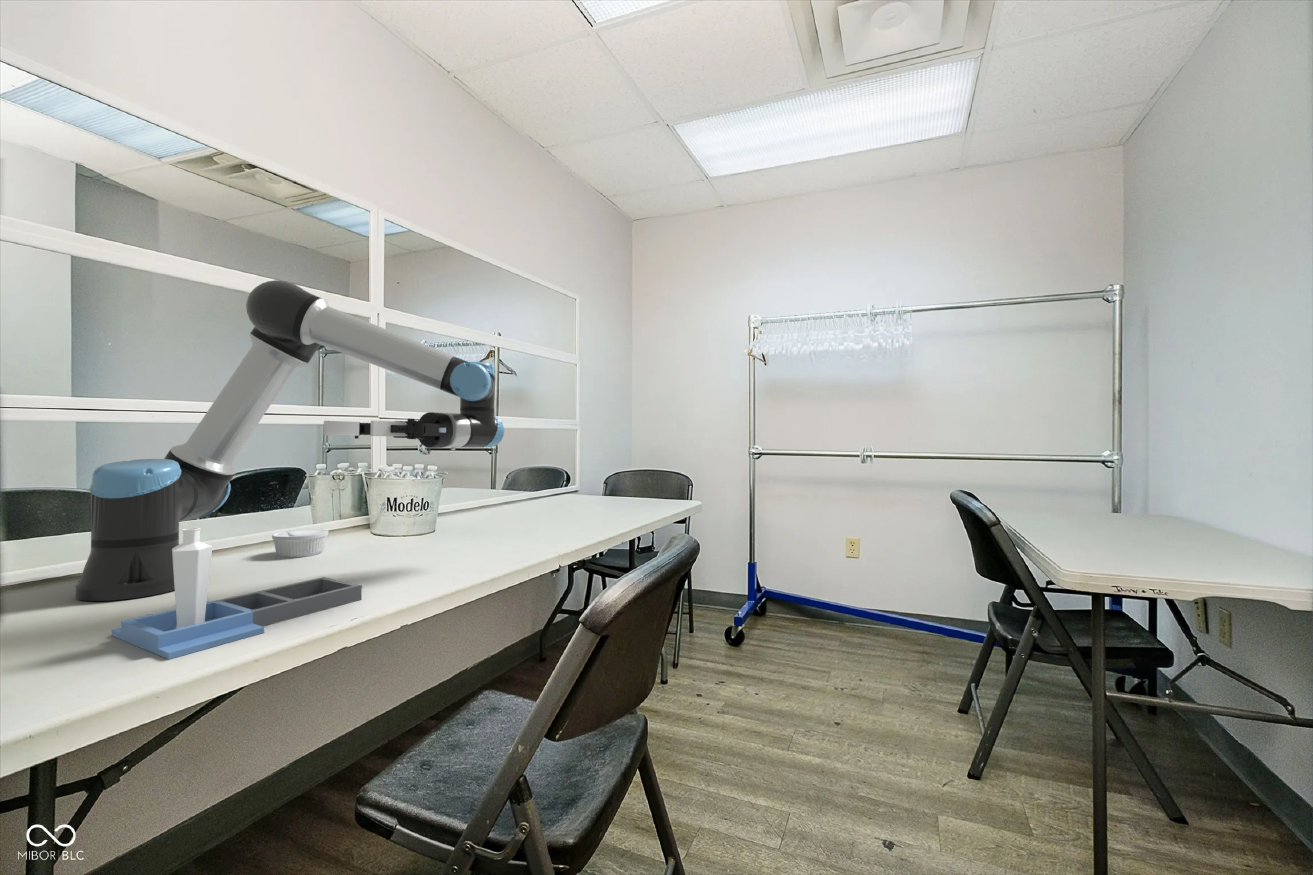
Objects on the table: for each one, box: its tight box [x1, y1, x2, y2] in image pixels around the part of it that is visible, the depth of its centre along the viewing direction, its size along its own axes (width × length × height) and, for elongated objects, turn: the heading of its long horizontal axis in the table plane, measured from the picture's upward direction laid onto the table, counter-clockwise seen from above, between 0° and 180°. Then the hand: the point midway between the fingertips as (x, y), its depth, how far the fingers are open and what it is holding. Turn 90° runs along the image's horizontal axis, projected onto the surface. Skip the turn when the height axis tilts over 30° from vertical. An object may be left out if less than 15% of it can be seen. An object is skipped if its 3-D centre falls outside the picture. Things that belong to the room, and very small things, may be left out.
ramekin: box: [271, 528, 329, 559], centre depth 131 cm, size 11×11×5 cm
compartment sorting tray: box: [111, 576, 363, 660], centre depth 86 cm, size 28×17×2 cm, turn 152°
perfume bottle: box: [172, 527, 213, 629], centre depth 78 cm, size 5×4×15 cm
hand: (347, 428), depth 99 cm, fingers open, 13 cm apart
